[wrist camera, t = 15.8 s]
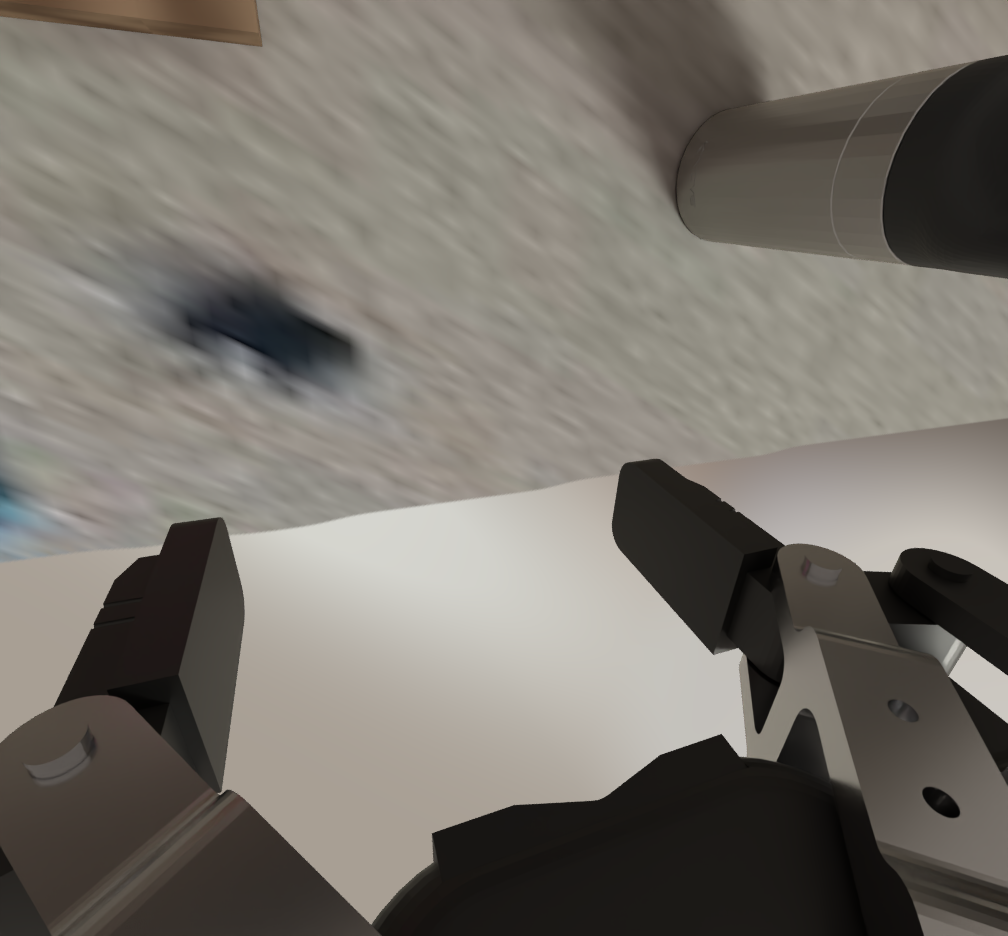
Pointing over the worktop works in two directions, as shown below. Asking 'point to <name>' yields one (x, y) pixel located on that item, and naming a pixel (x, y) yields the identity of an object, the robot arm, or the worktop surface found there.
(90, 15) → the wooden square frame
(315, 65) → the worktop surface
